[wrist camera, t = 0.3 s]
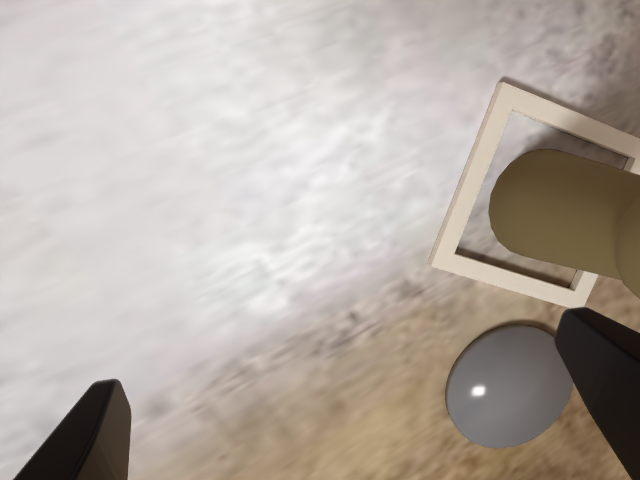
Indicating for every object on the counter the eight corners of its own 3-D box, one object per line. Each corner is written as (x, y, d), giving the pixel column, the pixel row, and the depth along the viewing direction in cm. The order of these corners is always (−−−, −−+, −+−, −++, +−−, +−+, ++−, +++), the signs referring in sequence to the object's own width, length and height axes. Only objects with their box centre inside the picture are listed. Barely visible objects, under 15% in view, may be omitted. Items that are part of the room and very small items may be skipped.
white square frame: (575, 308, 28) (581, 311, 27) (427, 263, 26) (430, 266, 25) (650, 145, 26) (658, 146, 25) (498, 82, 24) (503, 82, 23)
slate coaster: (519, 459, 30) (524, 465, 29) (420, 414, 28) (423, 419, 27) (591, 357, 29) (597, 361, 28) (494, 302, 27) (498, 306, 26)
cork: (474, 178, 25) (644, 218, 14) (574, 129, 25) (814, 134, 14) (507, 274, 27) (681, 374, 16) (600, 228, 27) (832, 296, 16)
